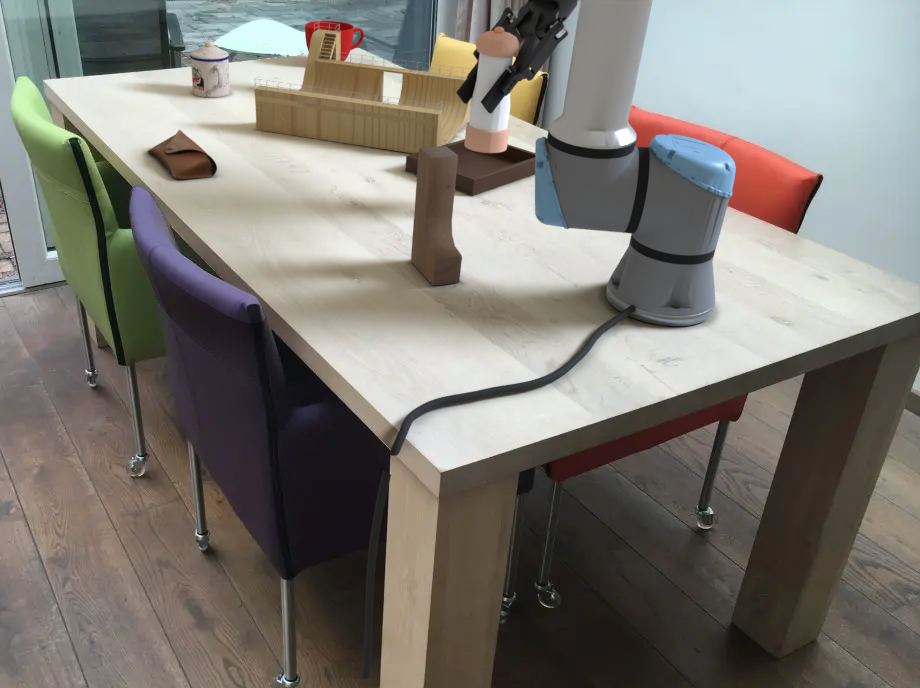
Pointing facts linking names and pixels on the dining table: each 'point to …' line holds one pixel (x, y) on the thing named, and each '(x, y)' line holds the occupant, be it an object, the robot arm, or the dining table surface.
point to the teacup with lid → (210, 71)
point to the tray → (484, 167)
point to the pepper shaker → (494, 58)
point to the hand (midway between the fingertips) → (473, 102)
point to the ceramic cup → (345, 30)
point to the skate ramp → (363, 102)
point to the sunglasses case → (184, 158)
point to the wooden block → (435, 217)
